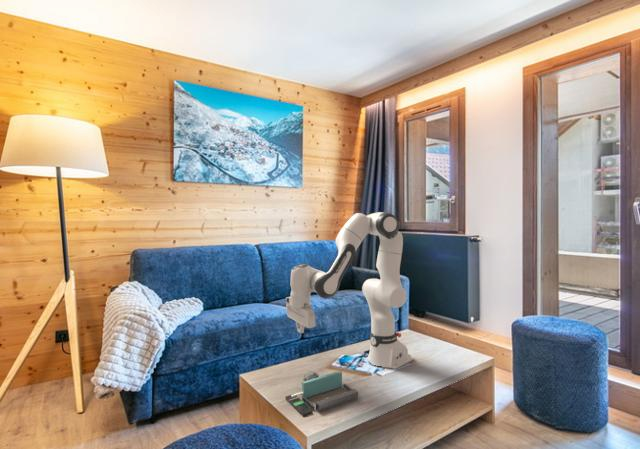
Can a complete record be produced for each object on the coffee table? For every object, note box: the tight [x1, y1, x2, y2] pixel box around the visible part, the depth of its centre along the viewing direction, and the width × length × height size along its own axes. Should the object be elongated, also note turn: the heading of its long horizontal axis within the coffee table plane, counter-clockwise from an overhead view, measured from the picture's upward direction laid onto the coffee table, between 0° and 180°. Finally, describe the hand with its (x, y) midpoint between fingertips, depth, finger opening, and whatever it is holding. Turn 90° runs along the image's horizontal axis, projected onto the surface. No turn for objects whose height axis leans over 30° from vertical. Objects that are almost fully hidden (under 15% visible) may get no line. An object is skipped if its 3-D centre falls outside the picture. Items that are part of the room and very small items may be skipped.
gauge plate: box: [290, 370, 343, 399], centre depth 147 cm, size 23×2×6 cm, turn 122°
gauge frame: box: [285, 383, 359, 417], centre depth 143 cm, size 25×15×3 cm, turn 122°
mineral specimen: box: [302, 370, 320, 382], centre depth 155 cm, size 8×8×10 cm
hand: (300, 332), depth 163 cm, fingers closed
